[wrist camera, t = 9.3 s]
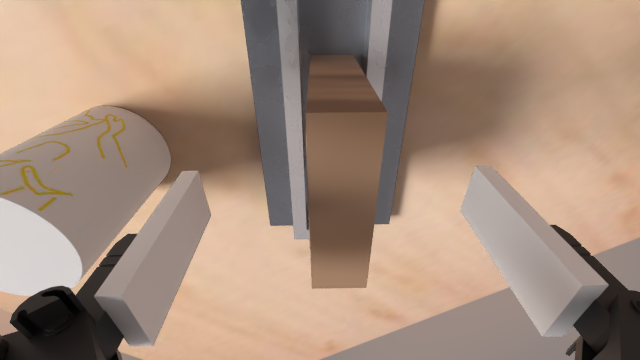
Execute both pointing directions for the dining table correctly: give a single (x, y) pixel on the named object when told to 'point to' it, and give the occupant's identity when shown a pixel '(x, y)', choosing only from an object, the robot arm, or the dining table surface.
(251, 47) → the track
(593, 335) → the robot arm
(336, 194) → the door panel
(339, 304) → the dining table surface
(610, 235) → the dining table surface
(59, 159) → the yellow-veined white cylinder
